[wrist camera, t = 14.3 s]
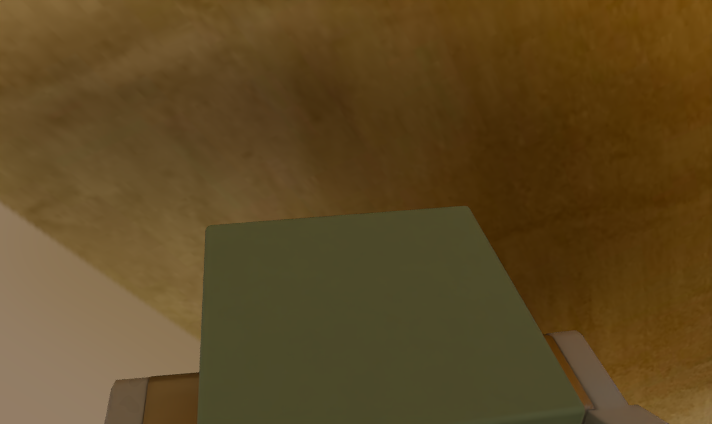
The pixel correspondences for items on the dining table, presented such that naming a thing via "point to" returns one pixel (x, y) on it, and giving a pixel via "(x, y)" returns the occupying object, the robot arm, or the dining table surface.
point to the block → (371, 326)
